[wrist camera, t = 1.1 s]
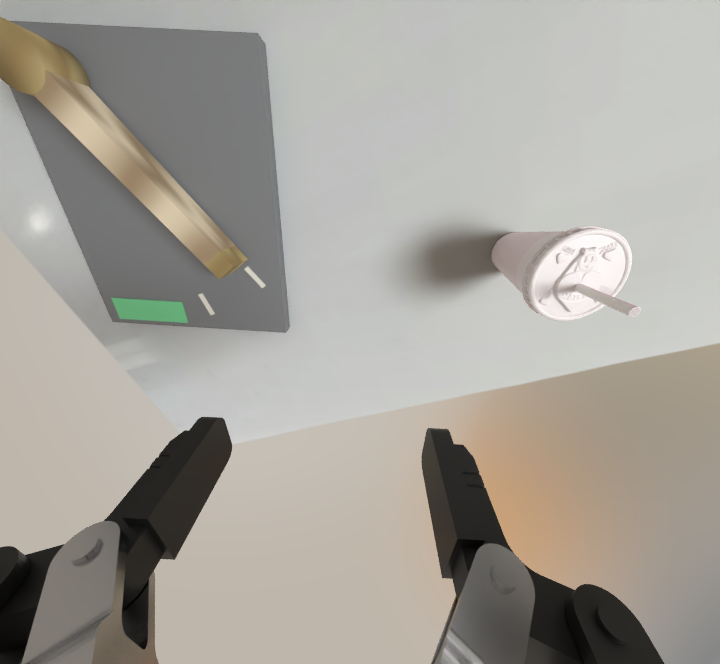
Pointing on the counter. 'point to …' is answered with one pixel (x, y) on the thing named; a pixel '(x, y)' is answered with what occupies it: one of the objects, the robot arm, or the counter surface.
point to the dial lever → (110, 141)
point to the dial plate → (173, 172)
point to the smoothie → (567, 270)
